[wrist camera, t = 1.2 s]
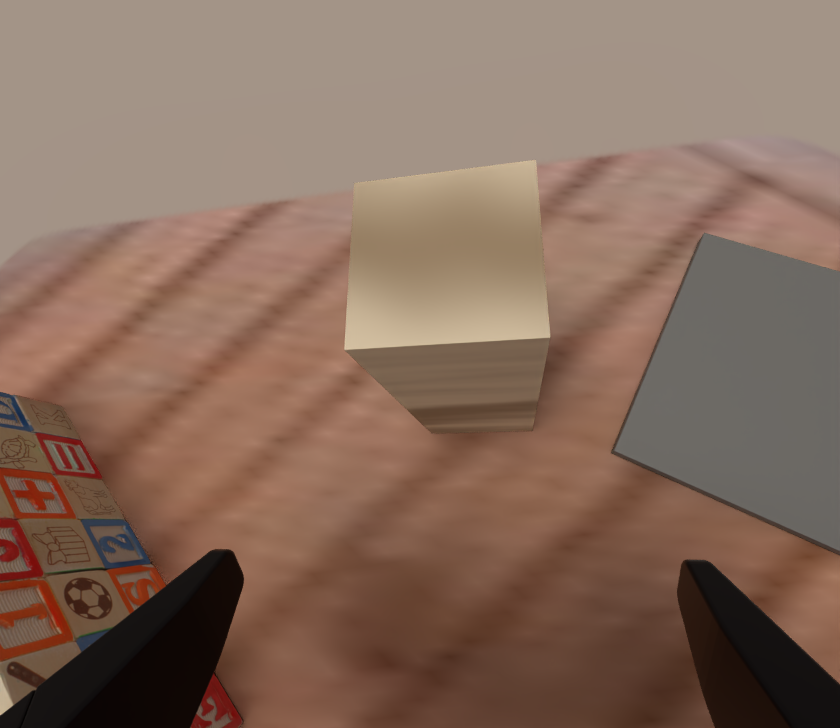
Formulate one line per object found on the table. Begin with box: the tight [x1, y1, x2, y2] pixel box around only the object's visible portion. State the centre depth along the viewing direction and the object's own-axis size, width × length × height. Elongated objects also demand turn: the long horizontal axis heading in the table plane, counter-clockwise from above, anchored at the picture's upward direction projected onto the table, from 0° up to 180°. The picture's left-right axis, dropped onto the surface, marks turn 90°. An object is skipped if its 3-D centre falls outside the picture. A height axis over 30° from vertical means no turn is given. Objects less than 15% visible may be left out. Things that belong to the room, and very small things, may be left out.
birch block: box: [344, 160, 550, 433], centre depth 18 cm, size 5×5×13 cm
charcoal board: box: [611, 233, 840, 555], centre depth 21 cm, size 12×12×1 cm
